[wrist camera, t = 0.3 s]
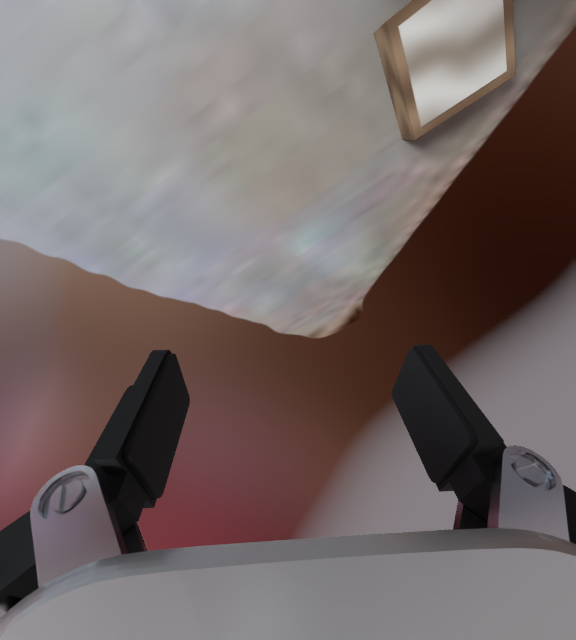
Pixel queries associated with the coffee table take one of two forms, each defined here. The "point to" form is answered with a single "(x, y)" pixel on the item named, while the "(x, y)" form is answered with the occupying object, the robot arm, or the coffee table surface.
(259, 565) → the robot arm
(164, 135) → the coffee table surface
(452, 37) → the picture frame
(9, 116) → the coffee table surface
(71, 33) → the coffee table surface
